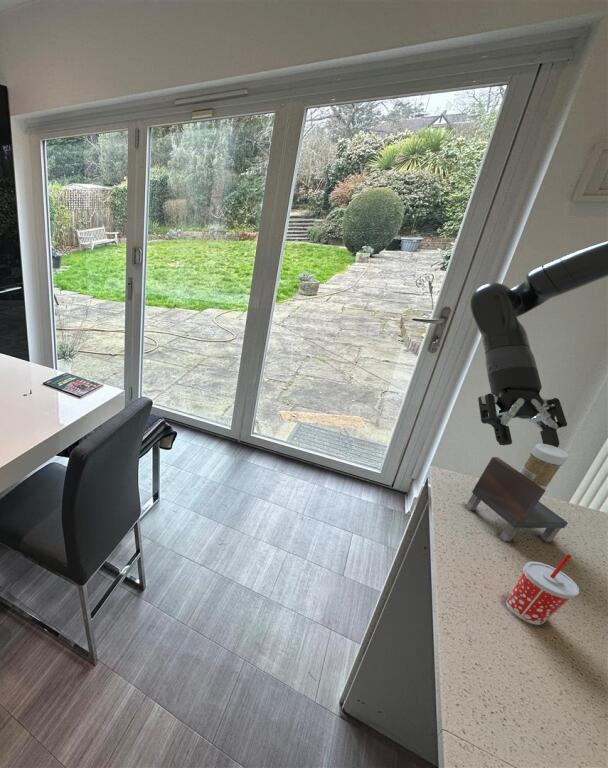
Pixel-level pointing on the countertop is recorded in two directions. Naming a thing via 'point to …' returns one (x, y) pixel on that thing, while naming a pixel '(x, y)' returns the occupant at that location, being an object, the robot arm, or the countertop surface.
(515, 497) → the chair
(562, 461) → the sprinkles bottle
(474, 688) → the countertop surface
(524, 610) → the beverage cup
